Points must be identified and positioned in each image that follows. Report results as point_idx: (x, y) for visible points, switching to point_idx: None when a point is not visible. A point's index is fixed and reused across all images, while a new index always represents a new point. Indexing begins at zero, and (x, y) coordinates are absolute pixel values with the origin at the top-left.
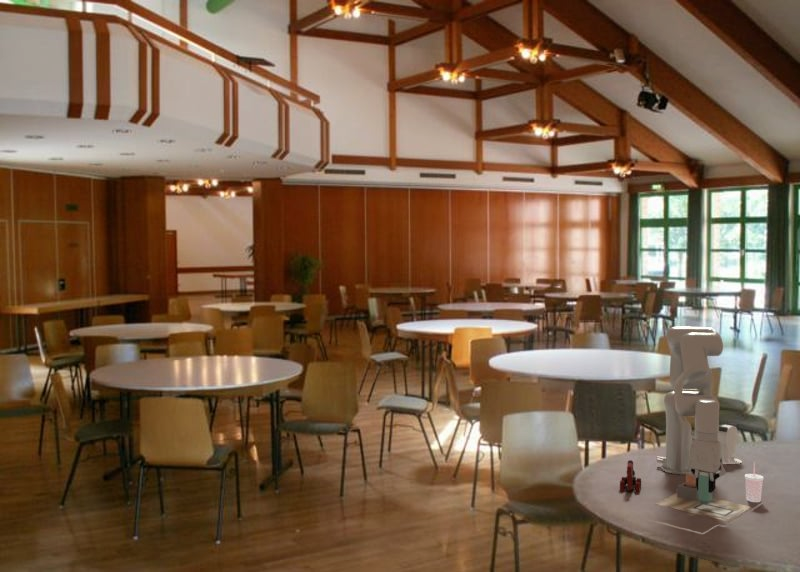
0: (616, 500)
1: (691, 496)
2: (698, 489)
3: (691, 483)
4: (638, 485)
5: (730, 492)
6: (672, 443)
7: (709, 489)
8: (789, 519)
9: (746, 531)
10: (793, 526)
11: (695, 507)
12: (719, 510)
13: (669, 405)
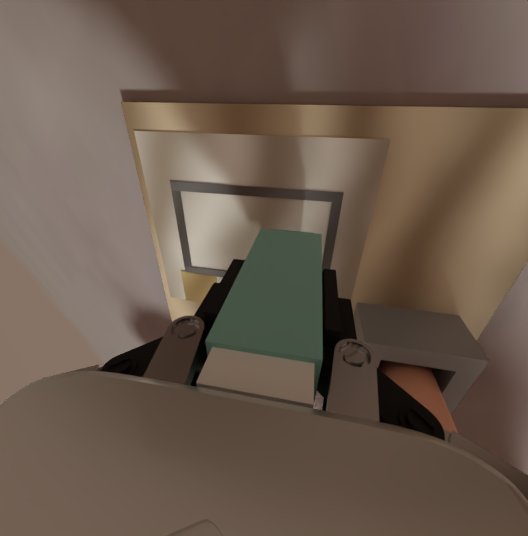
0: None
1: (385, 317)
2: (320, 266)
3: (407, 387)
4: None
5: None
6: None
7: (234, 269)
8: (61, 300)
9: (3, 35)
10: (7, 246)
11: (332, 208)
12: (228, 240)
13: None
